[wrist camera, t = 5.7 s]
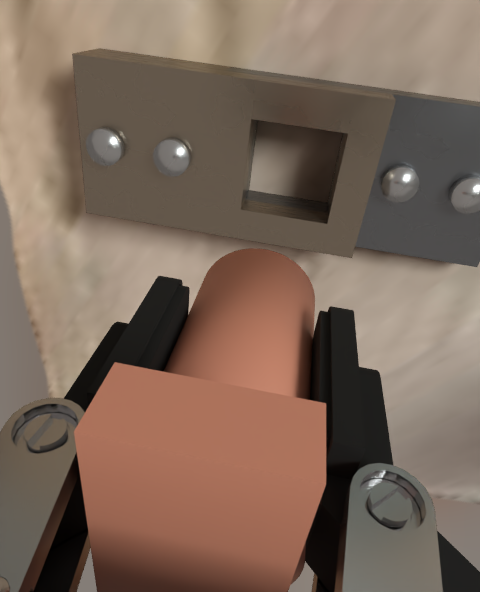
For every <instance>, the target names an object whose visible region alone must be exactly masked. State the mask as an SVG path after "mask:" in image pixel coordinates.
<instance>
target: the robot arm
mask: <svg viewBox="0 0 480 592" xmlns="http://www.w3.org/2000/svg"><path fill="white" fill-rule="evenodd" d="M188 307H189V287H186V286H182V280H180V279H174V278H169V277H163V276H158V277H157V279H156V280H155V282H154V284H153V285H152V287H151V289H150V290H149V292H148V293H147V295H146V297H145V298H144V300H143V302H142V303H141V305H140V306H139V308H138V310H137V311H136V313H135V315H134V316H133V318H132V319H131V321H130V323H129V324H127V323H122V322H116V323H114V324H113V325H112V327H111V328H110V330H109V331H108V333H107V334H106V336H105V337H104V339H103V340H102V342H101V343H100V345H99V346H98V348H97V349H96V351H95V352H94V354H93V355H92V357H91V358H90V360H89V361H88V363H87V364H86V366H85V367H84V369H83V370H82V372H81V373H80V375H79V376H78V378H77V379H76V381H75V382H74V384H73V385H72V387H71V388H70V390H69V391H68V393H67V394H66V396H65V397H64V399H63V398H46V399H41V400H37V401H34V402H32V403H29V404H28V405H25V406H23V407H22V408H21V409H19V410H18V411H16V412H15V413H13V415H12V416H11V417H10V418H9V419H8V421H7V422H6V423H5V425H4V426H3V428H2V430H1V431H0V592H77V589H78V586H79V583H80V580H81V576H82V573H83V570H84V567H85V564H86V561H87V558H88V554H89V551H90V548H91V546H90V539H89V532H88V525H87V518H86V512H85V505H84V498H83V491H82V484H81V477H80V471H79V464H78V457H77V450H76V443H75V436H74V430H75V429H76V427H77V425H78V424H79V422H80V420H81V419H82V417H83V415H84V414H85V412H86V410H87V408H88V407H89V405H90V403H91V402H92V400H93V398H94V397H95V395H96V393H97V391H98V390H99V388H100V386H101V385H102V383H103V381H104V380H105V378H106V376H107V374H108V373H109V371H110V369H111V368H112V366H113V364H114V363H115V362H116V363H121V364H127V365H132V366H137V367H142V368H147V369H152V370H157V371H163V372H164V369H165V367H166V365H167V363H168V360H169V358H170V356H171V353H172V351H173V349H174V347H175V344H176V342H177V340H178V338H179V335H180V333H181V331H182V329H183V326H184V324H185V322H186V320H187V317H188ZM310 400H312V401H317V402H322V403H326V486H325V489H324V492H323V494H322V497H321V500H320V503H319V506H318V508H317V511H316V514H315V517H314V520H313V522H312V525H311V528H310V531H309V534H308V536H307V539H306V548H305V561H306V562H307V564H308V565H309V566H310V568H311V569H312V570H313V572H314V578H313V585H312V592H480V572H479V571H478V570H477V569H476V568H475V567H474V566H473V565H472V564H471V563H469V561H468V560H467V559H466V558H465V557H464V556H463V555H462V554H461V553H460V552H459V551H458V550H457V549H455V548H454V547H453V546H452V545H451V544H450V543H449V542H448V541H447V540H446V539H445V538H444V537H443V536H442V535H441V534H440V533H439V532H438V531H437V525H436V515H435V509H434V506H433V502H432V499H431V497H430V496H429V494H428V492H427V491H426V489H425V488H424V486H423V485H422V484H421V483H420V482H419V481H418V480H417V479H416V478H415V477H413V476H412V475H410V474H409V473H408V472H406V471H405V470H403V469H400V468H398V467H396V466H393V460H392V453H391V447H390V440H389V433H388V426H387V419H386V412H385V405H384V398H383V391H382V385H381V378H380V374H379V372H378V371H377V370H372V369H367V368H362V367H359V364H358V353H357V342H356V331H355V320H354V311H353V310H348V309H342V308H337V307H331V306H330V307H329V310H328V312H325V311H320V312H319V315H318V319H317V323H316V327H315V331H314V335H313V339H312V364H311V389H310Z"/></svg>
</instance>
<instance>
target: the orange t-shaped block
mask: <svg viewBox="0 0 480 592" xmlns="http://www.w3.org/2000/svg"><path fill="white" fill-rule="evenodd" d="M314 309H315V296H314V290H313V287H312V284H311V282H310V280H309V278H308V276H307V275H306V273H305V272H304V271H303V270H302V269H301V267H300V266H298V265H297V264H296V263H295V262H294V261H292V260H291V259H289V258H288V257H286V256H284V255H282V254H279V253H277V252H274V251H270V250H266V249H242V250H238V251H234V252H232V253H229V254H227V255H225V256H224V257H222V258H220V259H219V260H218V261H217V262H215V264H214V265H213V266H212V267H211V268H210V269H209V271H208V272H207V274H206V276H205V278H204V281H203V283H202V285H201V288H200V290H199V292H198V294H197V297H196V299H195V301H194V303H193V306H192V308H191V310H190V312H189V315H188V317H187V320H186V322H185V324H184V326H183V329H182V331H181V333H180V335H179V338H178V340H177V342H176V344H175V347H174V349H173V351H172V353H171V356H170V358H169V360H168V363H167V365H166V367H165V369H164V372H163V371H157V370H152V369H147V368H142V367H137V366H132V365H127V364H121V363H116V362H115V363H114V364H113V366H112V368H111V369H110V371H109V373H108V374H107V376H106V378H105V380H104V381H103V383H102V385H101V386H100V388H99V390H98V391H97V393H96V395H95V397H94V398H93V400H92V402H91V403H90V405H89V407H88V408H87V410H86V412H85V414H84V415H83V417H82V419H81V420H80V422H79V424H78V425H77V427H76V429H75V430H74V436H75V443H76V450H77V457H78V464H79V471H80V477H81V484H82V491H83V498H84V505H85V512H86V518H87V525H88V532H89V539H90V546H91V553H92V559H93V566H94V573H95V580H96V586H97V592H288V590H289V587H290V585H291V584H292V583H293V582H294V581H295V580H296V579H297V578H298V577H299V576H300V574H301V572H302V570H303V568H304V563H305V548H306V539H307V536H308V534H309V531H310V528H311V525H312V522H313V520H314V517H315V514H316V511H317V508H318V506H319V503H320V500H321V497H322V494H323V492H324V489H325V486H326V403H322V402H317V401H312V400H310V389H311V364H312V339H313V335H314Z"/></svg>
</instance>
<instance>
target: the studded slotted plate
mask: <svg viewBox="0 0 480 592" xmlns="http://www.w3.org/2000/svg"><path fill="white" fill-rule="evenodd" d="M72 55H73V67H74V78H75V89H76V100H77V112H78V123H79V134H80V146H81V157H82V168H83V179H84V191H85V202H86V213H92V214H97V215H103V216H109V217H115V218H121V219H127V220H133V221H138V222H144V223H150V224H156V225H162V226H168V227H173V228H179V229H185V230H191V231H197V232H203V233H208V234H214V235H220V236H226V237H232V238H238V239H243V240H249V241H255V242H261V243H267V244H273V245H279V246H284V247H290V248H296V249H302V250H308V251H314V252H319V253H325V254H331V255H337V256H343V257H349V258H352V256H353V252H354V249H355V247H361V248H367V249H373V250H379V251H385V252H391V253H397V254H403V255H408V256H414V257H420V258H426V259H432V260H438V261H444V262H450V263H456V264H462V265H468V266H474V267H477V266H478V264H479V262H480V102H475V101H468V100H461V99H454V98H447V97H439V96H432V95H425V94H418V93H411V92H404V91H397V90H390V89H383V88H376V87H369V86H362V85H354V84H347V83H340V82H333V81H326V80H319V79H312V78H305V77H298V76H291V75H284V74H277V73H269V72H262V71H255V70H248V69H241V68H234V67H227V66H220V65H213V64H206V63H199V62H192V61H184V60H177V59H170V58H163V57H156V56H149V55H142V54H135V53H128V52H121V51H114V50H107V49H94V50H89V51H84V52H79V53H73V54H72ZM258 120H261V121H267V122H274V123H281V124H287V125H294V126H301V127H307V128H314V129H321V130H327V131H334V132H341V133H343V136H342V141H341V145H340V150H339V154H338V158H337V163H336V167H335V172H334V176H333V180H332V185H331V189H330V194H329V198H328V203H324V202H318V201H312V200H305V199H299V198H293V197H287V196H281V195H275V194H269V193H262V192H256V191H250V190H249V186H250V178H251V170H252V161H253V153H254V145H255V137H256V129H257V121H258Z"/></svg>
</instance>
